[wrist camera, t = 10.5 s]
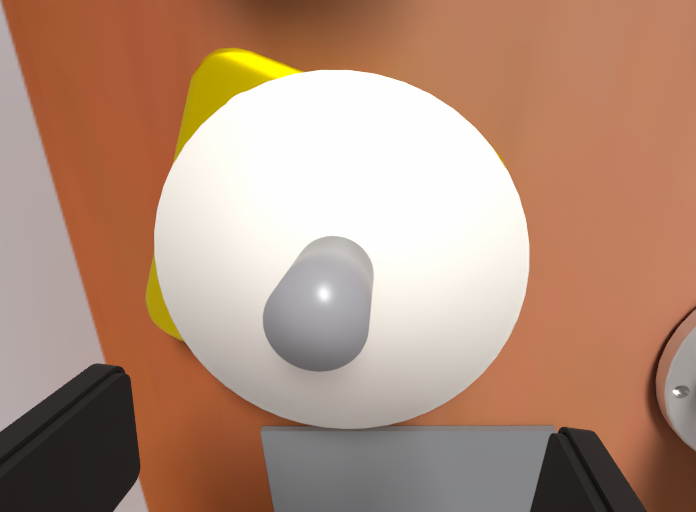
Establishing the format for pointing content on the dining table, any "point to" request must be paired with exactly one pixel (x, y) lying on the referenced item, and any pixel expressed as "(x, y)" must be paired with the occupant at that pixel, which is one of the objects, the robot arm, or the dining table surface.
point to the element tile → (202, 102)
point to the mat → (404, 468)
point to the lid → (341, 249)
